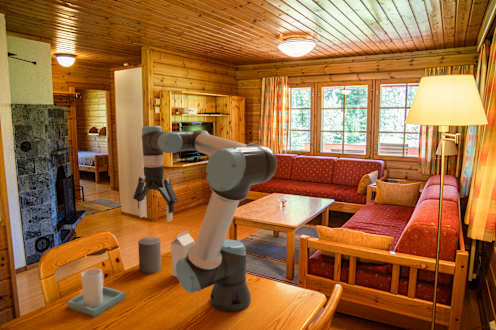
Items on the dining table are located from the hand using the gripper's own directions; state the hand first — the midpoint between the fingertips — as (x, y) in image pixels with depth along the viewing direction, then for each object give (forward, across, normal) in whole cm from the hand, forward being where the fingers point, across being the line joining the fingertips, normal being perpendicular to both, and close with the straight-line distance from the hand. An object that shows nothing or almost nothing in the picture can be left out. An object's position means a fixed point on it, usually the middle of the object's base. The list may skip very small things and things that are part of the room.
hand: (156, 218), depth 138 cm
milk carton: (+29, -3, -13) cm, 31 cm away
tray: (+28, +12, +20) cm, 37 cm away
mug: (+28, +13, +20) cm, 37 cm away
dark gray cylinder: (+28, +14, -11) cm, 34 cm away
